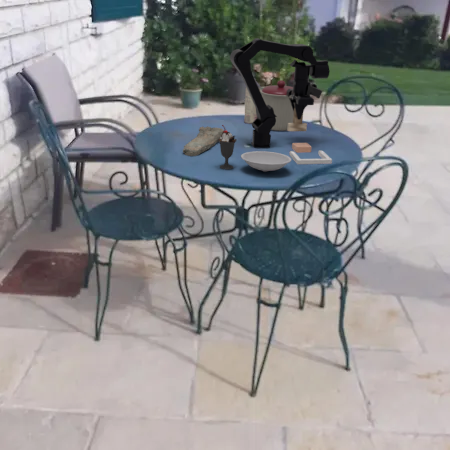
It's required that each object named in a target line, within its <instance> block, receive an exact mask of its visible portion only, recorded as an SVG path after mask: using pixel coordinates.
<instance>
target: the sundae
mask: <svg viewBox="0 0 450 450" xmlns="http://www.w3.org/2000/svg"><path fill="white" fill-rule="evenodd" d="M221 127H223V128H224V129H223V130H224V131H223V134H222V135H221V137H220V139H218V141H219V142H218V143H219V146H220V153H221V156H222V157H224V164H221V165H220V166H219V168H220V169H222V170H227V171H229V170H232V169H234V166H233V165H230V164H229V163H230V162H229V159H230V158H231V157H232V156H233V153H234V148H235V144H236V142H237V138H235V137H236V136H235V135H233V134H232V133H231V132H230V131H228V130H227V129H226V127H225V126H224V124H222V125H221Z"/></svg>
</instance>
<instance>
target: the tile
mask: <svg viewBox="0 0 450 450" xmlns="http://www.w3.org/2000/svg"><path fill="white" fill-rule="evenodd" d="M291 149H292V151H294V152H295V153H296V154H297V153H299V154H301V153H311V152H312V146H311V145H310V144H309V143H308V142H292V144H291Z"/></svg>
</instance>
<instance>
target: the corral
mask: <svg viewBox="0 0 450 450" xmlns="http://www.w3.org/2000/svg"><path fill="white" fill-rule="evenodd" d="M317 153H318V154H317V155H319V157H320V158H300V156H299V155H298V154H297V153H296V152H295V151H294V150H290V151H289V155H288V156H289V157H290V158H291V160H293V161H294V162H295V163H296V165H321V164H322V165H323V164H324V165H327V164H328V165H331V164H332V163H333V158H331V157H330V156H329V155H328V154H327V153H326V152H325V151H323V150H318V152H317Z"/></svg>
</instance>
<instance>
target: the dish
mask: <svg viewBox="0 0 450 450" xmlns="http://www.w3.org/2000/svg"><path fill="white" fill-rule="evenodd" d="M240 158H241V159H242V160H243V161H244V162H245V163H246V164H247V165H248V166H249V167H251V168H253V169H255V170H259V171H262V172H264V173H266V172H269V171H270V172H271V171H272V172H273V171H278V170H280V169H282V168H283V167H285V166H286V165H288V164H290V163H291V162H292V157H291V156H290V155H287V154H283V153H280V152H275V151H274V152H273V151H264V150H258V151H256V150H255V151H246V152H244V153H242V154H240Z"/></svg>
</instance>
